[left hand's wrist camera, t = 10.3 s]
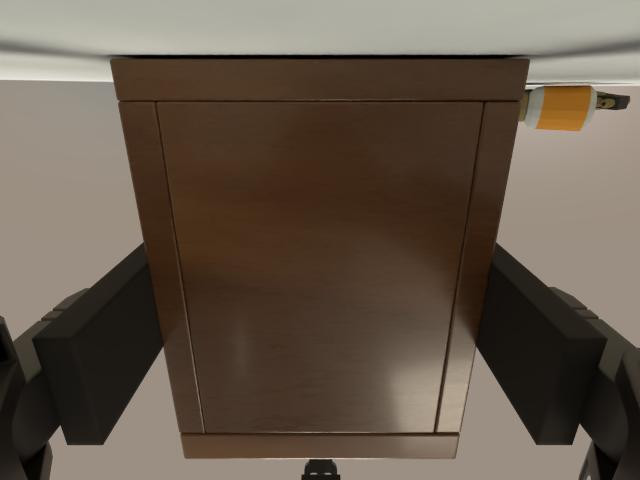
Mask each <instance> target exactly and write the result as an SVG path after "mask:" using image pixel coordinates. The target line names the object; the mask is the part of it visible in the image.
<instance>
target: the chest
mask: <svg viewBox="0 0 640 480" xmlns="http://www.w3.org/2000/svg"><path fill="white" fill-rule="evenodd" d="M110 64H111V70H112V75H113V80H114V85H115V91H116V96H117V99H118V100H119V101H120V102H118V106H119V112H120V117H121V122H122V128H123V133H124V139H125V144H126V149H127V155H128V160H129V165H130V171H131V176H132V181H133V187H134V192H135V197H136V203H137V208H138V214H139V219H140V224H141V230H142V235H143V240H144V246H145V251H146V256H147V262H148V267H149V272H150V277H151V283H152V288H153V293H154V299H155V304H156V310H157V315H158V320H159V326H160V331H161V336H162V342H163V348H164V353H165V358H166V364H167V369H168V374H169V380H170V385H171V390H172V396H173V401H174V407H175V412H176V417H177V422H178V428H179V432H181V433H203V432H205V430H206V432H207V433H433V432H434V430H435V432H460V431H461V426H462V421H463V416H464V410H465V405H466V399H467V394H468V389H469V384H470V378H471V373H472V367H473V362H474V357H475V351H476V345H477V340H478V334H479V329H480V323H481V318H482V313H483V307H484V302H485V297H486V291H487V286H488V280H489V275H490V270H491V264H492V260H493V255H494V249H495V244H496V239H497V233H498V228H499V223H500V217H501V212H502V206H503V201H504V196H505V190H506V185H507V179H508V174H509V169H510V164H511V158H512V153H513V147H514V142H515V137H516V131H517V126H518V121H519V115H520V110H521V102H519V101H521V100H522V99H523V96H524V91H525V86H526V80H527V75H528V69H529V64H530V60H529V59H111V60H110Z"/></svg>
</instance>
